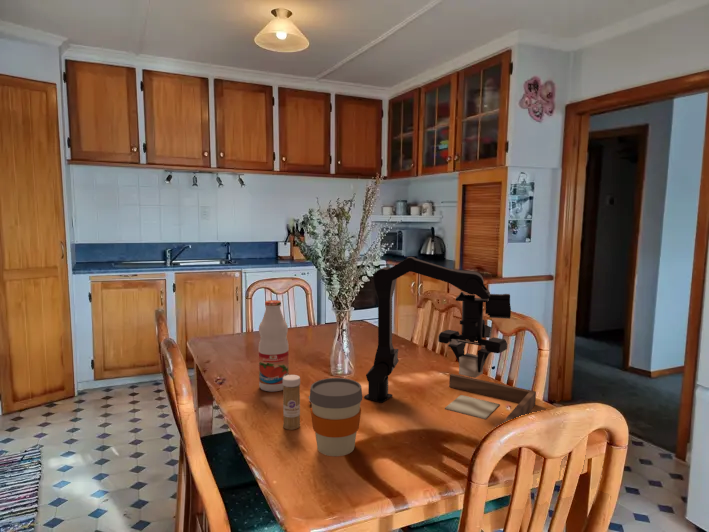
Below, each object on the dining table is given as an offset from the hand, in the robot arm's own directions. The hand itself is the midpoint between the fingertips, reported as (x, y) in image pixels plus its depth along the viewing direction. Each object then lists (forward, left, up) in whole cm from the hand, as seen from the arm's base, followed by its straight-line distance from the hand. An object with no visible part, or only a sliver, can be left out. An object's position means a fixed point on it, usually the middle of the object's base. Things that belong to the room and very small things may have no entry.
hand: (471, 370), depth 136 cm
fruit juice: (-21, +58, -12) cm, 62 cm away
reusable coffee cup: (-41, +18, -12) cm, 46 cm away
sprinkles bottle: (-39, +34, -12) cm, 53 cm away
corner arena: (0, -2, -11) cm, 11 cm away
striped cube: (0, 0, -1) cm, 1 cm away
